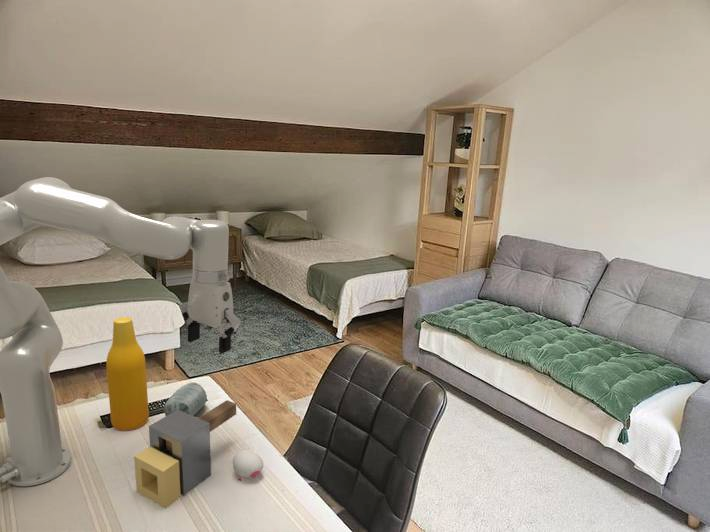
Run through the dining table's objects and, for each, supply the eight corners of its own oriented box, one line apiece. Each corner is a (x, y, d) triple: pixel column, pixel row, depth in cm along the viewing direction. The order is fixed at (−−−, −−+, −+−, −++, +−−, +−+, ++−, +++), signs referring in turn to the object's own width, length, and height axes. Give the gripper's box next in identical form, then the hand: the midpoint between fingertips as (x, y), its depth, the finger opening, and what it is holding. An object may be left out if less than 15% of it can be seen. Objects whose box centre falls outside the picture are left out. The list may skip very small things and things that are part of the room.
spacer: (165, 508, 101) (163, 471, 99) (136, 491, 106) (133, 456, 103) (180, 496, 105) (178, 460, 102) (152, 481, 109) (149, 446, 107)
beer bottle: (154, 412, 135) (148, 313, 127) (142, 431, 126) (134, 327, 119) (119, 411, 134) (111, 313, 127) (105, 431, 125) (95, 326, 118)
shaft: (176, 454, 106) (175, 442, 105) (166, 450, 107) (165, 438, 106) (236, 414, 122) (236, 403, 121) (227, 410, 123) (227, 400, 123)
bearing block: (184, 496, 105) (181, 441, 102) (152, 478, 110) (148, 426, 106) (211, 474, 112) (209, 423, 108) (180, 459, 116) (177, 409, 113)
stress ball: (265, 487, 114) (276, 458, 115) (246, 487, 107) (258, 457, 108) (240, 474, 117) (251, 446, 119) (220, 473, 110) (233, 444, 112)
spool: (190, 424, 125) (178, 386, 126) (160, 433, 127) (150, 396, 129) (220, 409, 138) (209, 375, 139) (192, 418, 140) (183, 385, 142)
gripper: (251, 280, 109) (248, 350, 113) (194, 264, 116) (193, 331, 121) (228, 287, 102) (226, 361, 106) (169, 270, 110) (169, 341, 114)
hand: (208, 345), depth 113 cm, fingers open, 9 cm apart
